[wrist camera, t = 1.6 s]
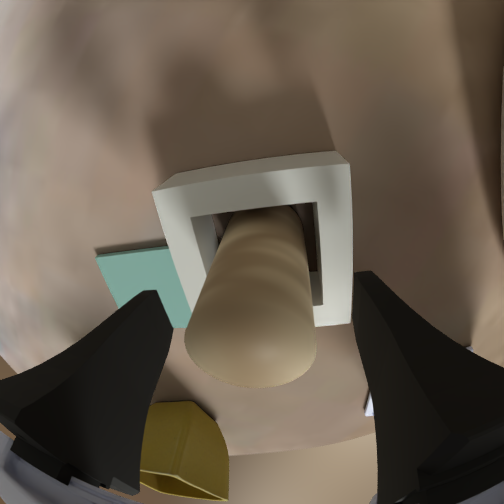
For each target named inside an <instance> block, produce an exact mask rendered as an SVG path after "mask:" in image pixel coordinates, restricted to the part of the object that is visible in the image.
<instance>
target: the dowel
mask: <svg viewBox="0 0 504 504" xmlns="http://www.w3.org/2000/svg"><path fill="white" fill-rule="evenodd" d="M185 346H186V349H187V352H188V354H189V356H190V357H191V359H192V360H193V361H194V363H195V364H196V365H197V366H198V367H199V368H200V369H202V370H203V371H204V372H206V373H207V374H209V375H210V376H212V377H214V378H216V379H218V380H220V381H222V382H225V383H228V384H231V385H235V386H240V387H247V388H268V387H275V386H279V385H283V384H286V383H288V382H291V381H293V380H295V379H296V378H298V377H300V376H301V375H302V374H304V373H305V372H306V371H307V370H308V369H309V368H310V366H311V365H312V363H313V361H314V359H315V356H316V350H317V345H316V334H315V324H314V313H313V304H312V295H311V286H310V277H309V269H308V261H307V253H306V246H305V239H304V231H303V226H302V223H301V220H300V218H299V216H298V215H297V213H296V212H295V211H294V210H293V209H292V208H291V207H290V206H288V205H279V206H271V207H262V208H254V209H246V210H239V211H235V212H234V214H233V215H232V217H231V219H230V221H229V224H228V226H227V228H226V231H225V233H224V235H223V238H222V240H221V243H220V245H219V248H218V250H217V252H216V255H215V257H214V260H213V262H212V265H211V267H210V270H209V272H208V275H207V277H206V280H205V282H204V285H203V287H202V290H201V292H200V295H199V297H198V300H197V302H196V305H195V307H194V310H193V312H192V315H191V318H190V320H189V323H188V325H187V328H186V331H185Z"/></svg>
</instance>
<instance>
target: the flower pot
mask: <svg viewBox="0 0 504 504" xmlns="http://www.w3.org/2000/svg"><path fill="white" fill-rule="evenodd" d="M140 483H141V484H143V485H145V486H147V487H150V488H151V489H154V490H156V491H158V492H161V493H165V494H170V495H176V496H182V497H188V498H196V499H204V500H214V501H228V491H229V456H228V450H227V446H226V443H225V440H224V437H223V435H222V433H221V431H220V428H219V426H218V424H217V423H216V422H215V421H214V420H213V419H211V418H210V417H209V416H208V415H207V414H206V413H205V412H204V411H203V410H202V409H201V408H199V407H198V405H196V404H195V403H194V402H192V401H180V402H160V403H154V404H152V405H150V406H149V410H148V414H147V419H146V424H145V429H144V436H143V442H142V451H141V461H140Z"/></svg>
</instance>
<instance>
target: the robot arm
mask: <svg viewBox="0 0 504 504" xmlns="http://www.w3.org/2000/svg"><path fill="white" fill-rule="evenodd" d="M352 319H353V325H354V331H355V337H356V342H357V346H358V349H359V353H360V356H361V360H362V364H363V367H364V371H365V374H366V378H367V382H368V386H369V390H370V394H369V397H368V401H367V405H366V408H365V412H364V413H365V416H373V415H374V420H375V430H376V442H377V463H378V489H377V494H375V495H374V496H373V498H372V499H371V501H370V503H369V504H504V368H503V367H501V366H499V365H497V364H494V363H492V362H490V361H488V360H486V359H484V358H482V357H480V356H478V355H477V354H475V353H473V348H472V347H471V346H470V347H466V348H465V347H463V346H461V345H460V344H458V343H456V342H455V341H453V340H452V339H450V338H449V337H447V336H446V335H445V334H443V333H442V332H440V331H439V330H438V329H436V328H435V327H433V326H432V325H431V324H430V323H428V322H427V321H426V320H425V319H423V318H422V317H421V316H420V315H419V314H417V313H416V312H415V311H414V310H413V309H411V308H410V307H409V306H408V305H407V304H406V303H405V302H404V301H403V300H402V299H400V298H399V297H398V296H397V295H396V294H395V293H394V292H393V291H392V290H391V289H390V288H389V287H388V286H387V285H386V284H385V283H384V282H383V281H382V280H381V279H380V278H379V277H378V276H376V275H375V274H374V273H373V272H372V271H364V272H355V273H354V295H353V313H352ZM172 334H173V326H172V324H171V322H170V320H169V317H168V315H167V313H166V311H165V308H164V306H163V304H162V301H161V299H160V297H159V294H158V292H157V290H143V291H142V292H140V293H139V294H137V295H136V296H134V297H133V298H132V299H131V300H129V301H128V302H127V303H125V304H124V305H123V306H122V307H121V308H119V309H118V310H117V311H116V312H115V313H113V314H112V315H111V316H110V317H109V318H107V319H106V320H105V321H104V322H102V323H101V324H100V325H99V326H97V327H96V328H95V329H94V330H92V331H91V332H90V333H88V334H87V335H86V336H85V337H83V338H82V339H81V340H79V341H78V342H76V343H75V344H73V345H72V346H70V347H69V348H67V349H66V350H64V351H63V352H61V353H60V354H58V355H56V356H54V357H52V358H51V359H49V360H47V361H45V362H44V363H42V364H40V365H38V366H36V367H34V368H31V369H29V370H27V371H24V372H22V373H20V374H17V375H14V376H11V377H8V378H5V379H2V380H0V423H1V424H3V425H4V426H5V427H6V428H7V429H8V430H9V431H11V432H12V433H13V434H14V435H15V436H16V438H15V440H14V441H13V440H12V439H11V438H9V437H8V436H7V435H5V434H4V433H2V432H1V431H0V496H1V498H2V499H3V500H4V502H5V503H6V504H143V503H139V502H136V501H133V500H130V499H127V498H124V497H121V496H118V495H115V494H113V493H110V492H108V491H105V490H102V489H100V488H99V486H101V487H104V488H106V489H109V488H111V489H114V490H117V491H120V492H123V493H126V494H129V495H132V496H133V495H136V494H138V493H139V492H140V461H141V451H142V442H143V436H144V429H145V424H146V419H147V414H148V410H149V406H150V402H151V399H152V396H153V393H154V390H155V387H156V385H157V382H158V379H159V377H160V374H161V371H162V369H163V366H164V363H165V360H166V358H167V355H168V352H169V348H170V344H171V339H172Z"/></svg>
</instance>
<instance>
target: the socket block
mask: <svg viewBox="0 0 504 504" xmlns="http://www.w3.org/2000/svg"><path fill="white" fill-rule="evenodd" d="M152 194H153V198H154V201H155V205H156V208H157V212H158V215H159V218H160V221H161V225H162V228H163V231H164V234H165V237H166V241H167V244H168V247H169V250H170V253H171V256H172V259H173V262H174V265H175V268H176V271H177V274H178V276H179V279H180V282H181V285H182V288H183V290H184V293H185V296H186V299H187V301H188V304H189V307H190V309H191V312H193V310H194V307H195V305H196V302H197V300H198V297H199V295H200V292H201V290H202V287H203V285H204V282H205V280H206V277H207V275H208V272H209V270H210V267H211V265H212V262H213V260H214V257H215V255H216V252H217V250H218V248H219V243H218V239H217V235H216V231H215V226H214V222H213V218H212V214H216V213H224V212H231V211H239V210H246V209H254V208H262V207H271V206H279V205H288V204H298V203H307V202H312V204H313V215H314V226H315V239H316V253H317V269H318V271H314V272H309V277H310V286H311V295H312V304H313V313H314V324H315V327H319V326H329V325H338V324H346V323H350V321H351V303H352V276H353V220H352V193H351V175H350V164H349V163H348V162H347V161H346V160H345V159H344V158H343V157H342V156H341V155H340V154H339V153H338V152H337V151H326V152H315V153H305V154H295V155H287V156H278V157H270V158H263V159H256V160H249V161H242V162H236V163H230V164H224V165H218V166H212V167H207V168H201V169H196V170H191V171H186V172H181V173H176V174H174V175H173V176H172V177H170V178H169V179H168V180H166V181H165V182H164V183H162V184H161V185H160V186H158V187H157V188H156V189H155V190H153V191H152Z"/></svg>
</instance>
